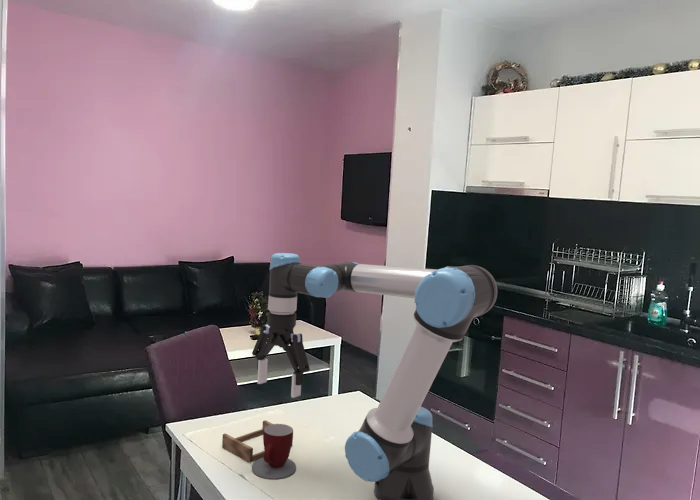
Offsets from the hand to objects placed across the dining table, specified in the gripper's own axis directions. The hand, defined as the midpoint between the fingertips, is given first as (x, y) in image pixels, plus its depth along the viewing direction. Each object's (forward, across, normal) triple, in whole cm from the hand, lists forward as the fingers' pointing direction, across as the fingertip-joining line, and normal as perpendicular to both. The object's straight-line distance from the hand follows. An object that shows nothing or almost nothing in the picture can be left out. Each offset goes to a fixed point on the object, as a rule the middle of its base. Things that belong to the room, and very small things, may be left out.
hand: (278, 389), depth 154 cm
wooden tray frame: (+22, +13, -5) cm, 26 cm away
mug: (+22, 0, 0) cm, 22 cm away
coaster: (+22, 0, 0) cm, 22 cm away
